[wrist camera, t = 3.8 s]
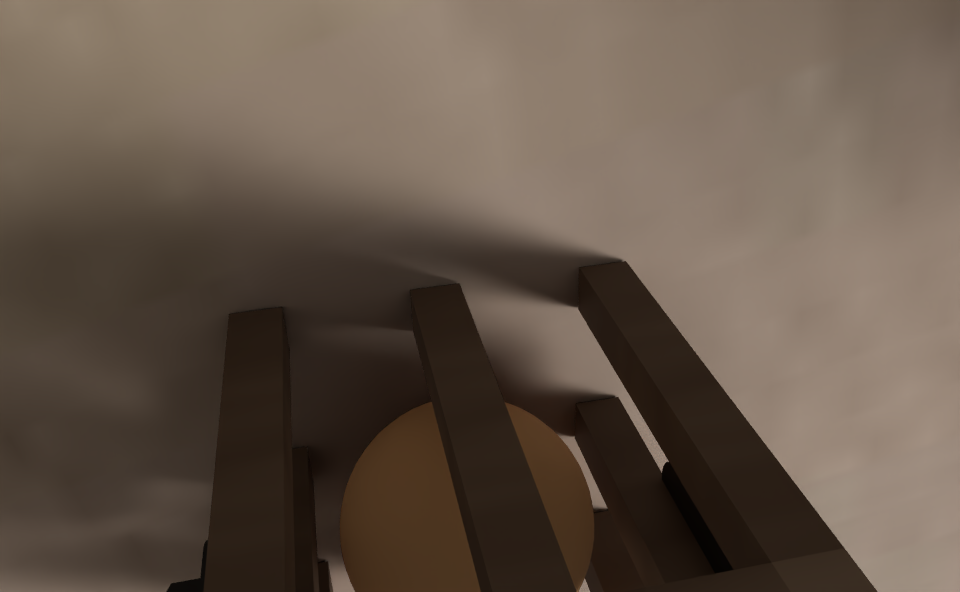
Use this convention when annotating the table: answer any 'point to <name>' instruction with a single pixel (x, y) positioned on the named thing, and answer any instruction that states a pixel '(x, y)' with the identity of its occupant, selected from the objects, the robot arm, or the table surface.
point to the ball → (446, 507)
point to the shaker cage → (505, 471)
